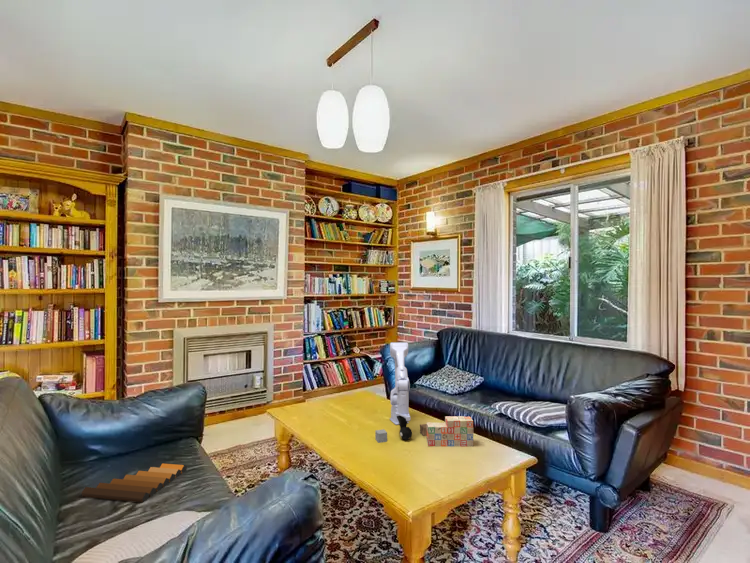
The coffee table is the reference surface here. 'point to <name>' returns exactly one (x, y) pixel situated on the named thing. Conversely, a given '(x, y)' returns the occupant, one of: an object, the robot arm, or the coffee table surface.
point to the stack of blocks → (451, 432)
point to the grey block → (381, 436)
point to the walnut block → (423, 429)
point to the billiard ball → (405, 433)
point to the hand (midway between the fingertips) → (403, 430)
